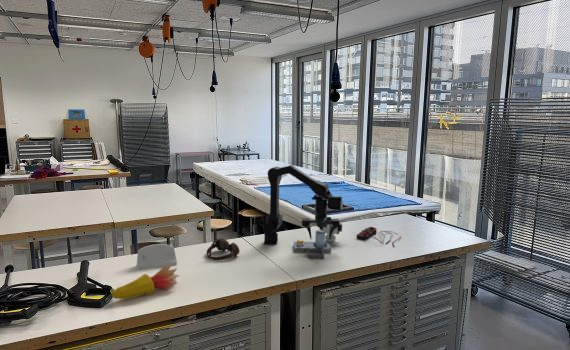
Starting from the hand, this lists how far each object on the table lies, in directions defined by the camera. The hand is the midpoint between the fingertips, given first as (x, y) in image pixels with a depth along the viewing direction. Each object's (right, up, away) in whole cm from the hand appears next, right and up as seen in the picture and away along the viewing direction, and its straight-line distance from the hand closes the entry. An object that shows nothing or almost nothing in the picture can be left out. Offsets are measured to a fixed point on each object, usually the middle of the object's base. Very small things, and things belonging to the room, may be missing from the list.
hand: (320, 239), depth 190 cm
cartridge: (0, -5, +1) cm, 5 cm away
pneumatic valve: (+7, -3, +14) cm, 16 cm away
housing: (-4, -5, +1) cm, 6 cm away
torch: (-68, -12, -49) cm, 85 cm away
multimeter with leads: (+35, -3, +20) cm, 41 cm away
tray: (-3, -6, -9) cm, 11 cm away
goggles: (-48, -6, -11) cm, 49 cm away
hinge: (-74, -8, -23) cm, 77 cm away
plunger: (-10, -4, +1) cm, 11 cm away
